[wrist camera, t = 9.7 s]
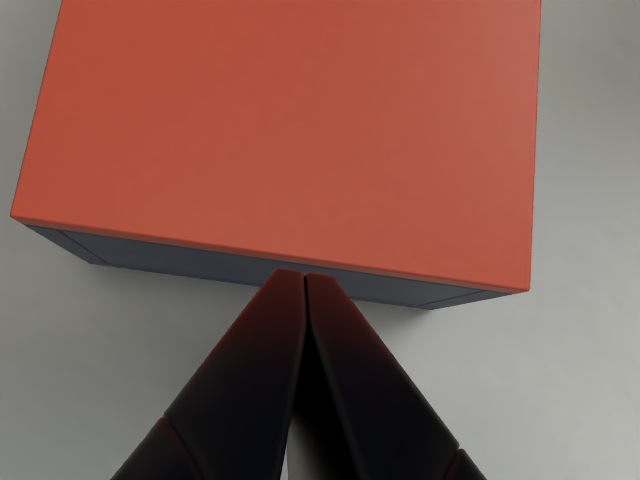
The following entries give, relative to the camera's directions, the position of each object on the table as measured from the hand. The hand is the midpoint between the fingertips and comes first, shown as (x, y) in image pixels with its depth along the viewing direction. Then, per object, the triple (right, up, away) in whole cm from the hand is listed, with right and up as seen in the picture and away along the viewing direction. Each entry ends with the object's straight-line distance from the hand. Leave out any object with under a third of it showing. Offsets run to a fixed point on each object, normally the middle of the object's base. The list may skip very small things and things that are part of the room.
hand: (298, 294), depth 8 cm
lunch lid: (0, +8, +8) cm, 11 cm away
